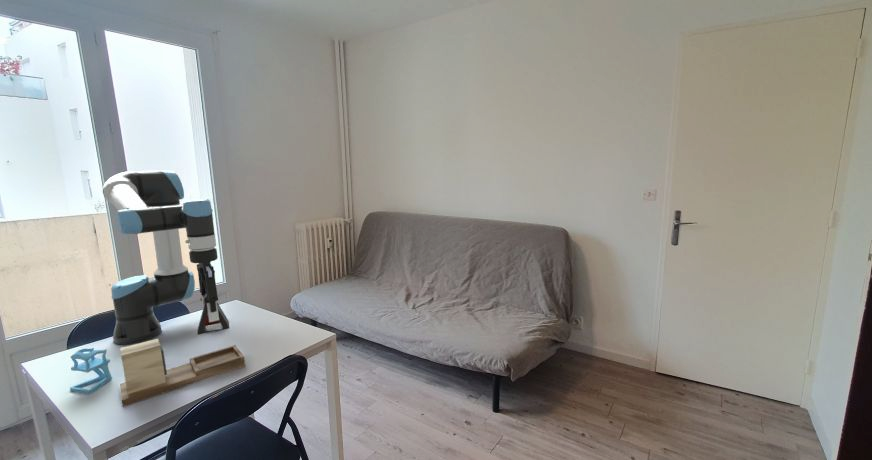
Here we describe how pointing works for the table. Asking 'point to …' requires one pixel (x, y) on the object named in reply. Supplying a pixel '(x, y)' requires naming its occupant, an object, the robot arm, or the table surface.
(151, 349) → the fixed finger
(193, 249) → the robot arm
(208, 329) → the dark grey a-frame stand
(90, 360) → the chair
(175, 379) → the wooden desk organizer
